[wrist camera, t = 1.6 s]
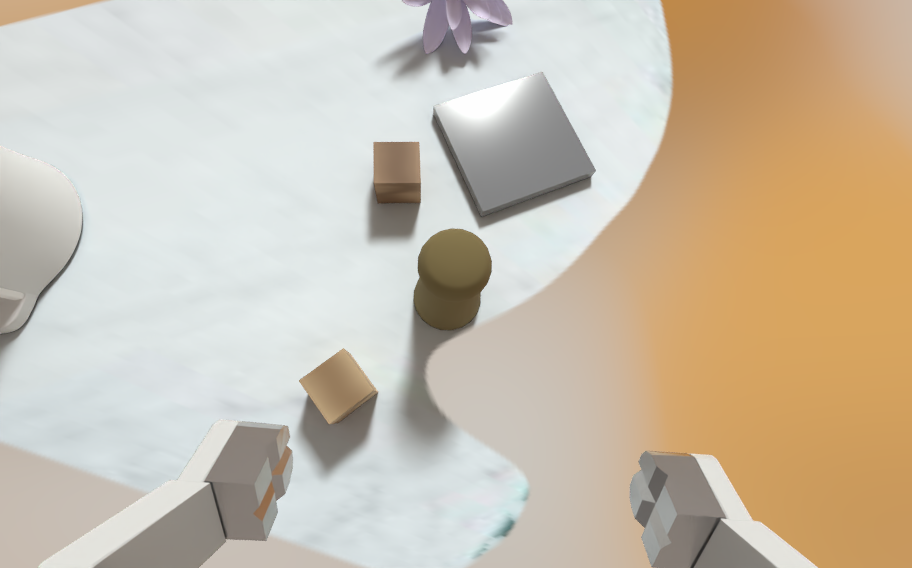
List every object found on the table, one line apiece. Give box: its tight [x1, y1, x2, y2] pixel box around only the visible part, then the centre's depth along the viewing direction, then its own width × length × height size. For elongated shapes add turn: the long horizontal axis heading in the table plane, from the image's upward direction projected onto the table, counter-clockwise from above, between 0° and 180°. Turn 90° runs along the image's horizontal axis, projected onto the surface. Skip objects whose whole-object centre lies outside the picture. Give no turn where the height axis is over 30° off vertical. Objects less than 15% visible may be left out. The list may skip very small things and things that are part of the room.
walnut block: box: [374, 142, 421, 203], centre depth 42 cm, size 4×4×4 cm
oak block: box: [299, 348, 378, 424], centre depth 37 cm, size 4×4×4 cm
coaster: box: [433, 72, 596, 217], centre depth 45 cm, size 12×12×1 cm
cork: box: [414, 229, 492, 330], centre depth 36 cm, size 6×6×11 cm
